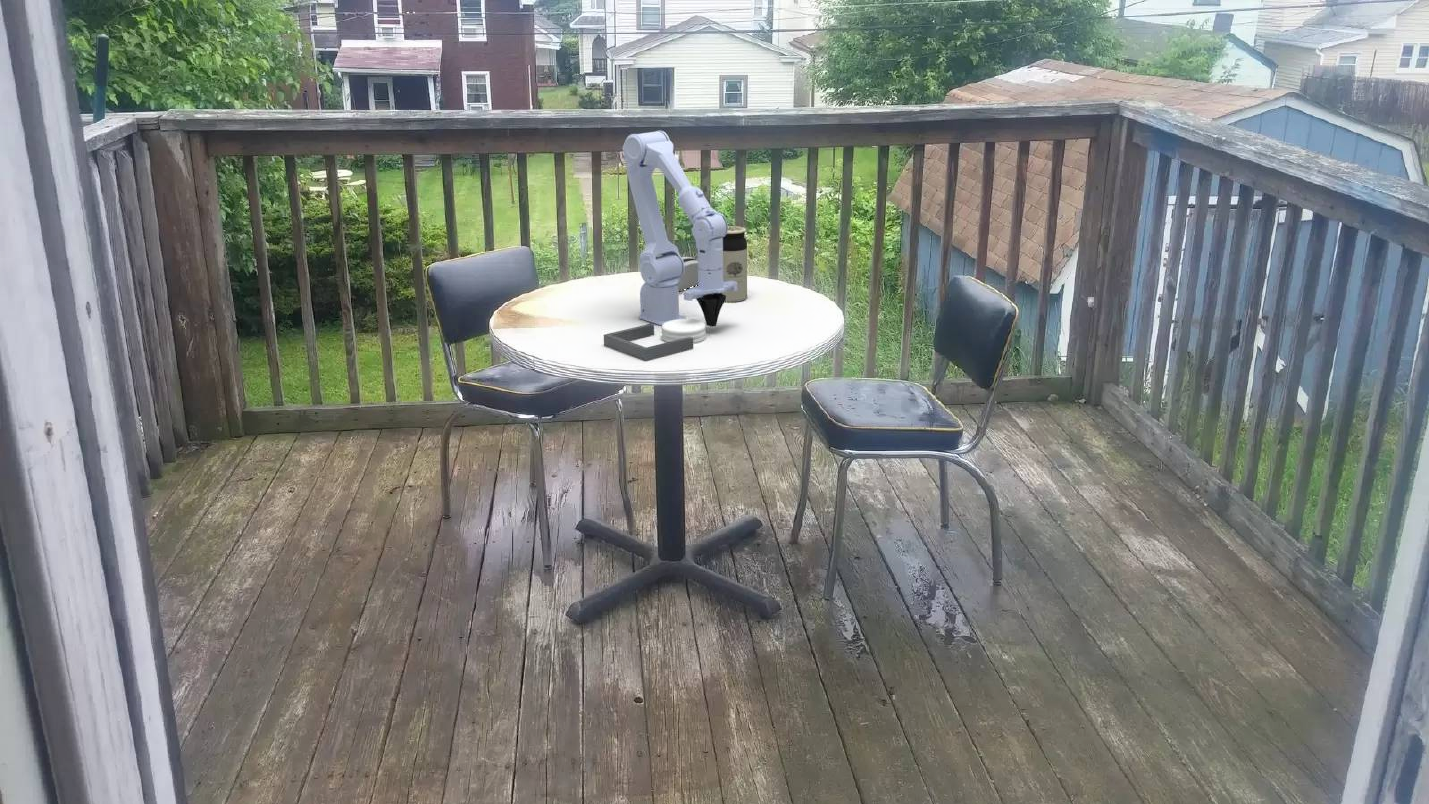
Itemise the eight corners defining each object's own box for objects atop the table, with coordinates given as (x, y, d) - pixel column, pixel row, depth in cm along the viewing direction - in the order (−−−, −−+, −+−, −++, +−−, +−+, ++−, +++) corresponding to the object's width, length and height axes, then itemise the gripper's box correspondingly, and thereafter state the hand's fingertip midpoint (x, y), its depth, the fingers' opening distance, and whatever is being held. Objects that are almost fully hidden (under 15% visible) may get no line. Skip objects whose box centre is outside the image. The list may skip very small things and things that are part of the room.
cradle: (604, 345, 250) (603, 334, 249) (651, 333, 258) (650, 323, 257) (645, 361, 239) (645, 349, 238) (693, 348, 247) (693, 337, 246)
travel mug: (716, 294, 291) (715, 225, 285) (747, 294, 291) (747, 225, 284) (715, 302, 283) (714, 232, 277) (746, 302, 283) (746, 232, 277)
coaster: (682, 330, 261) (681, 315, 260) (714, 338, 255) (714, 323, 254) (652, 340, 254) (652, 325, 253) (685, 348, 248) (685, 333, 247)
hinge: (685, 282, 304) (694, 249, 299) (698, 290, 302) (708, 257, 297) (646, 295, 291) (655, 261, 286) (660, 303, 289) (669, 269, 284)
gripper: (697, 276, 247) (698, 335, 252) (746, 265, 256) (746, 322, 261) (677, 270, 252) (678, 328, 257) (725, 260, 261) (726, 316, 266)
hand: (711, 325), depth 259 cm, fingers closed
